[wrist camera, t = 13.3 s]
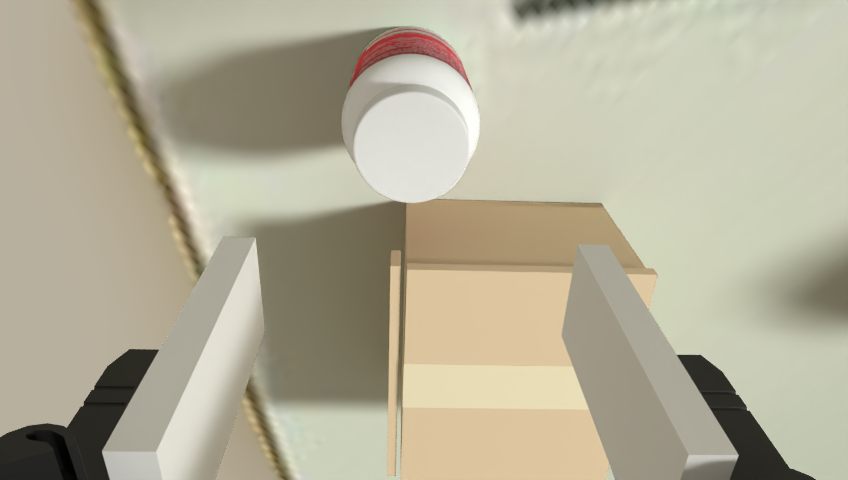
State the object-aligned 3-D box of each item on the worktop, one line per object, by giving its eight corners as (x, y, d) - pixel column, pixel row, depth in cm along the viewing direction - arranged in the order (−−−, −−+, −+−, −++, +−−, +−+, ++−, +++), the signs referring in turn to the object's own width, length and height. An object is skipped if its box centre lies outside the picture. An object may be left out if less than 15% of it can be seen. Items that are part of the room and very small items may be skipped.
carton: (406, 198, 37) (406, 265, 30) (601, 203, 38) (646, 269, 31) (401, 378, 44) (400, 467, 37) (567, 380, 44) (598, 468, 37)
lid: (391, 249, 31) (390, 269, 29) (644, 255, 31) (658, 275, 30) (387, 454, 38) (386, 480, 36) (596, 456, 38) (605, 482, 36)
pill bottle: (336, 46, 33) (307, 101, 23) (445, 7, 32) (463, 47, 22) (377, 150, 36) (366, 239, 26) (477, 117, 35) (506, 195, 25)
